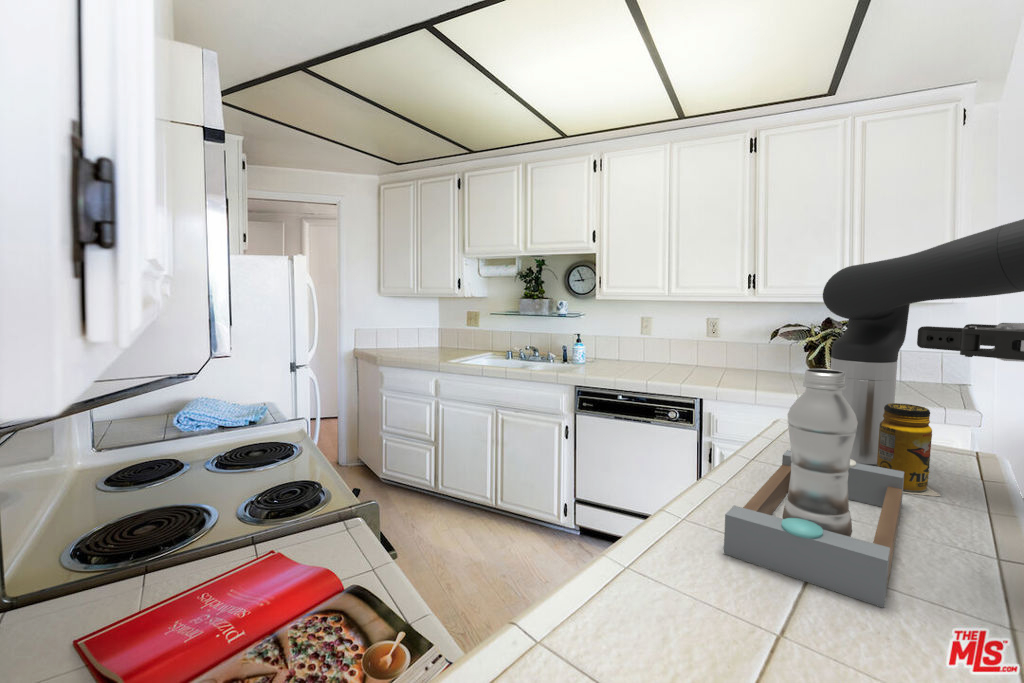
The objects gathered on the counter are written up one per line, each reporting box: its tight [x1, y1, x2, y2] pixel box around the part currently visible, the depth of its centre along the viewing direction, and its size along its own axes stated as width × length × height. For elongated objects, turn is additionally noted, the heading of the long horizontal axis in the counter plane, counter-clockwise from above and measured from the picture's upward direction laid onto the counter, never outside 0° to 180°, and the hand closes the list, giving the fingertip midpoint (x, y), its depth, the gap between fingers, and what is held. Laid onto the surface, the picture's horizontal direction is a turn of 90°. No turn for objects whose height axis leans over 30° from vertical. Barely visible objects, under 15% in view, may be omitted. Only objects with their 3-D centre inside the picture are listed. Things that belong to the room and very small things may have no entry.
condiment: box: [876, 402, 941, 497], centre depth 71 cm, size 7×8×12 cm
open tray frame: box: [742, 464, 903, 589], centre depth 59 cm, size 14×23×3 cm, turn 138°
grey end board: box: [723, 505, 890, 609], centre depth 49 cm, size 14×4×5 cm, turn 48°
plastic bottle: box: [781, 368, 858, 537], centre depth 53 cm, size 6×7×20 cm
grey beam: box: [781, 449, 904, 508], centre depth 68 cm, size 14×4×5 cm, turn 48°
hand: (942, 335), depth 51 cm, fingers open, 8 cm apart
